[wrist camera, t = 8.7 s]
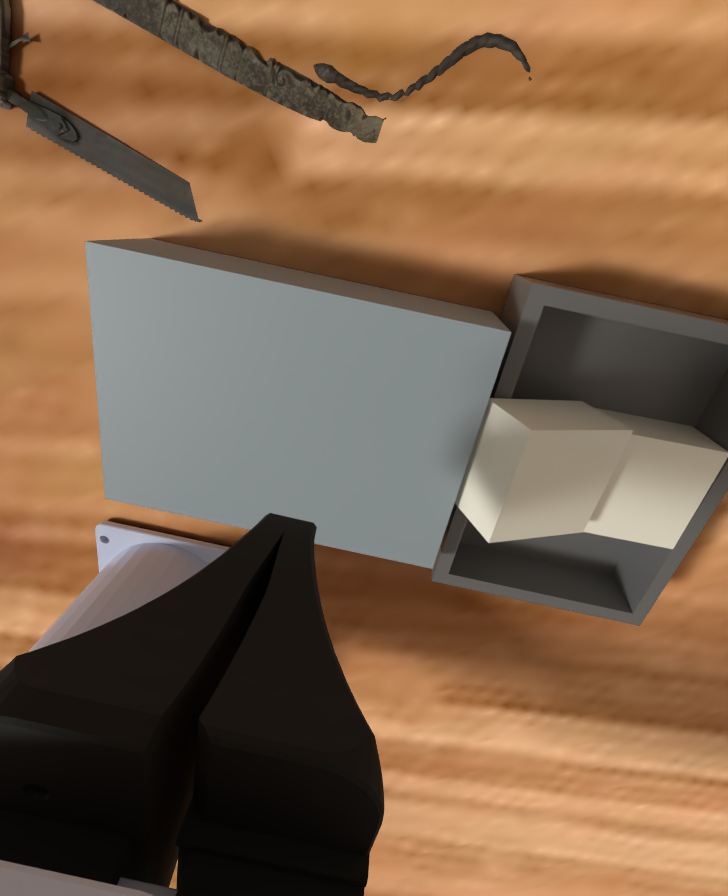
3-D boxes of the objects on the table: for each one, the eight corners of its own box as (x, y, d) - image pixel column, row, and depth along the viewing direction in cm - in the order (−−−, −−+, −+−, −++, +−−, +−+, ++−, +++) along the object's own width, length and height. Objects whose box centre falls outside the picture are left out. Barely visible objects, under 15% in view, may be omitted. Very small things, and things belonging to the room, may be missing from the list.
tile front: (541, 495, 20) (583, 532, 18) (453, 501, 18) (488, 543, 16) (581, 400, 18) (633, 430, 16) (487, 398, 16) (531, 430, 14)
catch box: (613, 579, 23) (639, 625, 21) (429, 540, 23) (431, 581, 21) (759, 326, 18) (821, 344, 15) (514, 274, 18) (532, 282, 15)
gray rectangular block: (429, 514, 23) (432, 569, 19) (153, 455, 23) (105, 498, 19) (492, 311, 18) (511, 332, 15) (149, 238, 18) (85, 241, 15)
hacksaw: (-174, 11, 16) (-227, -9, 15) (-181, -446, 12) (-257, -531, 11) (403, 345, 20) (403, 354, 18) (561, 80, 15) (576, 65, 14)
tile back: (564, 528, 19) (548, 496, 21) (672, 549, 19) (645, 514, 21) (608, 430, 17) (585, 405, 19) (730, 453, 17) (692, 426, 19)
